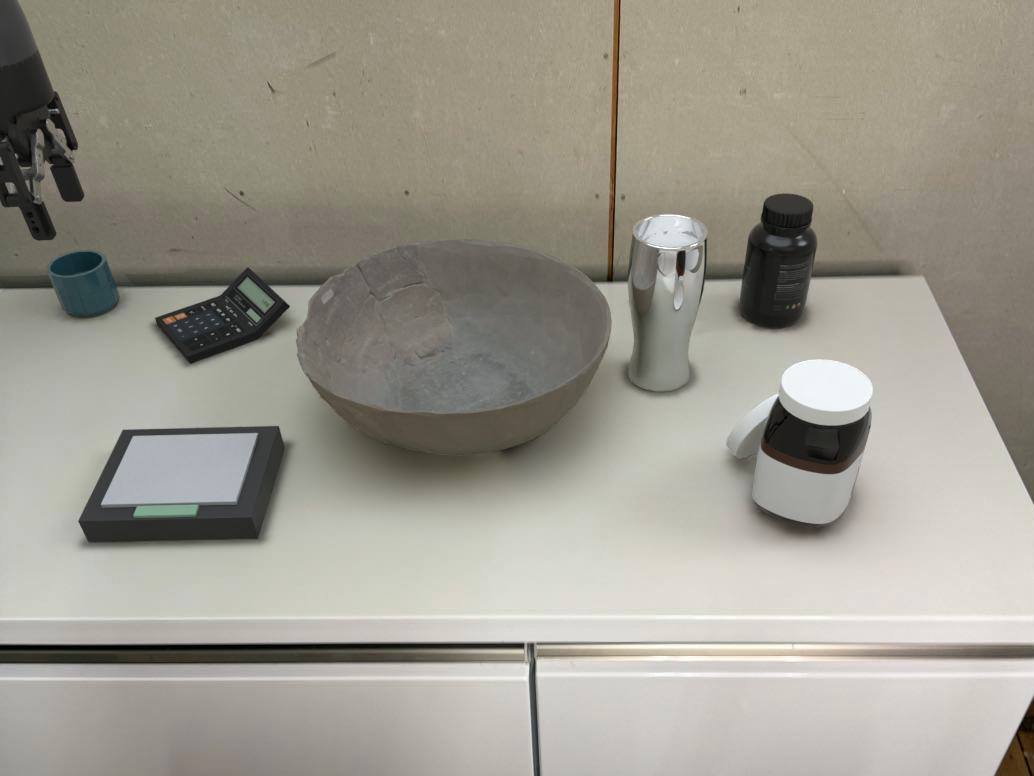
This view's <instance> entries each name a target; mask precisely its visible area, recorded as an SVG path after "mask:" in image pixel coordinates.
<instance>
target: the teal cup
mask: <svg viewBox="0 0 1034 776" xmlns="http://www.w3.org/2000/svg"><path fill="white" fill-rule="evenodd" d="M46 273H47V276H48V278H49V280H50V283H51V286H52V287H53V290H54V293H55V295H56V297H57V299H58V302H59V304H60V308H61V309H62V311H64V312H65V313H66V314H69V315H71V316H73V317H78V318H90V317H91V318H92V317H95V316H99V315H102V314H104V313H107V312H108V311H111V310H112V309H114V307H115V306H116V305H117V302H118V300H119V298H120V292H119V290H118V287H117V285H116V281H115V279H114V276H113V273H112V270H111V268H110V265H109V263H108V260H107V256H106V255H105V254H104V253H102V252H101V251H98V250H94V249H80V250H79V249H78V250H73V251H68V252H66V253H63V254H60V255H58V256H56V257H55V258H53V259H52V260H50V261H49V262H48V264H47V265H46Z"/></svg>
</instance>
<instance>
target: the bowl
mask: <svg viewBox="0 0 1034 776" xmlns="http://www.w3.org/2000/svg"><path fill="white" fill-rule="evenodd" d="M307 307H308V308H307V315H306V318H305V320H304V321H303V322H302V324H301V325H300V326H298V327H296V339H295V343H296V344H295V345H296V350H297V354H296V355H297V360H298V362H299V365H300V368H301V370H302V371H303V373H304V375H305V376H306V378H307V379H308V380H309V382H310V384H311V385H312V387H313V388H314V389H315V391H316V393H317V394H318V395H319V397H321V398H322V400H324V402H325V403H327V405H328V406H329V407H330V408H331V409H332V410H333V411H334V412H335V413H336V414H338V416H340V417H341V418H342V419H343V420H344V421H346V422H347V423H348V425H350V426H352V427H353V428H355V429H356V430H358V431H359V432H361V433H362V434H365V435H366V436H368V437H370V438H373V439H375V440H377V441H379V442H382V443H385V444H387V445H391V446H394V447H397V448H403V449H408V450H411V451H415V452H422V453H426V454H427V453H428V454H435V455H444V456H456V457H457V456H459V457H460V456H474V455H481V454H488V453H495V452H500V451H503V450H508V449H510V448H514V447H517V446H520V445H522V444H525V443H527V442H530V441H532V440H535V439H536V438H538V437H540V436H541V435H543V434H546V432H548V431H550V430H551V429H552V428H553V427H555V426H556V425H557V424H559V422H561V420H563V418H565V416H566V415H568V413H569V412H570V411H571V410H572V409H573V408H574V407H575V405H577V403H578V402H579V401H580V399H581V398H582V397H583V395H584V394H585V392H586V391H587V389H588V388H589V386H590V384H591V383H592V381H593V380H594V377H595V375H596V373H597V372H598V370H599V368H600V365H601V363H602V360H603V358H604V355H605V353H606V351H607V349H608V346H609V342H610V336H611V333H612V323H613V321H612V312H611V308H610V306H609V303H608V300H607V298H606V297H605V295H604V294H603V293H602V291H601V290H600V288H599V287H598V286H597V285H596V283H595V282H593V280H592V279H591V278H590V277H588V276H587V274H585V273H583V272H582V271H581V270H579V269H578V268H577V267H575V266H573V265H571V264H570V263H567V262H566V261H564V260H561V259H560V258H557V257H556V256H554V255H551V254H549V253H547V252H544V251H541V250H538V249H535V248H532V247H528V246H524V245H520V244H516V243H515V244H514V243H509V242H505V241H504V242H503V241H497V240H491V239H481V238H480V239H479V238H453V239H452V238H451V239H435V240H425V241H424V240H423V241H419V242H416V243H403V244H400V245H397V246H396V247H394V246H389V247H387V248H385V249H382V250H379V251H378V250H377V251H376V253H371V254H368V255H366V256H364V257H362V258H361V259H360V260H359V261H358V262H356V264H355V265H353V266H349V267H347V268H345V269H343V271H342V273H339V274H336V275H332V276H330V277H329V278H328V279H327V280H326V281H325V282H324V283H322V284H321V285H320V286H319V288H318V289H317V290H316V292H314V294H313V295H311V297H310V299H309V300H308V302H307Z"/></svg>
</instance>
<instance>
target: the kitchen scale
mask: <svg viewBox="0 0 1034 776" xmlns="http://www.w3.org/2000/svg"><path fill="white" fill-rule="evenodd" d="M284 449H285V443H284V439H283V436H282V432H281V428H280V425H261V426H260V425H259V426H219V427H218V426H216V427H215V426H214V427H178V428H174V427H173V428H171V427H170V428H133V429H130V428H129V429H122V431H121V432H120V434H119V437H118V439H117V440H116V443H115V445H114V447H113V449H112V451H111V452H110V455H109V457H108V459H107V461H106V463H105V465H104V468H103V469H102V472H101V474H100V476H99V478H98V480H97V482H96V483H95V486H94V487H93V489H92V492H91V494H90V496H89V498H88V500H87V502H86V504H85V506H84V508H83V510H82V512H81V514H80V516H79V518H78V521H77V522H78V524H79V527H80V528H81V530H82V533H83V534H84V536H85V539H86V540H87V542H88V543H110V542H111V543H112V542H114V543H115V542H151V541H155V542H157V541H197V540H199V541H201V540H237V539H239V540H240V539H241V540H242V539H259V538H260V537H259V536H260V534H261V533H260V532H261V529H262V526H263V522H264V518H265V515H266V512H267V509H268V506H269V501H270V498H271V495H272V491H273V488H274V484H275V481H276V477H277V473H278V470H279V467H280V464H281V461H282V456H283V453H284V451H285V450H284Z"/></svg>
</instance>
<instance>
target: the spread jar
mask: <svg viewBox="0 0 1034 776" xmlns="http://www.w3.org/2000/svg"><path fill="white" fill-rule="evenodd" d="M873 395H874V386H873V384H872V381H871V380H870V378H869V377H868V376H867V375H866V374H865V373H863V371H861V370H860V369H858V368H857V367H855V366H852V365H850V364H848V363H845V362H841V361H838V360H837V361H836V360H832V359H823V358H822V359H821V358H820V359H817V358H816V359H815V358H813V359H807V360H803V361H799V362H796V363H794V364H791V365H790V366H789V367H787V368H786V369H785V371H784V372H783V373H782V376H781V378H780V383H779V389H778V393H776V394H773V395H771V396H768V398H766V399H765V400H763V401H761V402H760V403H758V404H757V405H756V406H755V407H753V408H752V409H751V410H749V411H748V412H747V413H746V415H744V416H743V417H742V418H741V419H740V420H739V421H738V422H737V424H736V425H735V426H734V427H733V428H732V430H731V431H730V433H729V434H728V436H727V439H726V445H725V446H726V447H727V448H728V450H730V452H731V453H732V454H733V455H734V456H735V457H736V458H737V459H745V458H748V457H751V456H753V455H755V454H756V453H757V458H756V462H755V469H754V474H753V480H752V486H751V488H752V489H751V493H752V494H751V495H752V501H753V502H754V504H755V505H756V506H757V507H758V509H760V510H761V511H762V512H764V513H765V514H767V515H769V516H770V517H773V519H776V520H778V521H780V522H783V523H786V524H789V525H791V526H792V525H793V526H798V527H803V528H823V527H824V528H825V527H828V526H829V525H832V524H833V523H835V522H836V521H837V520H838V519H840V518H841V516H843V514H844V513H845V511H846V509H847V507H848V505H849V504H850V501H851V499H852V498H851V497H852V495H853V493H854V489H855V486H856V482H857V479H858V475H859V472H860V468H861V464H862V460H863V456H864V453H865V449H866V445H867V443H868V439H869V434H870V433H871V426H872V419H873V413H872V412H873V411H872V408H871V402H872V398H873Z"/></svg>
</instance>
